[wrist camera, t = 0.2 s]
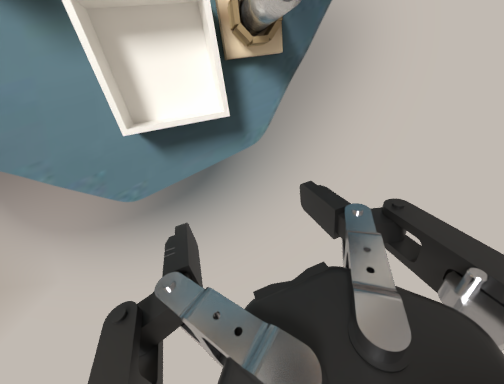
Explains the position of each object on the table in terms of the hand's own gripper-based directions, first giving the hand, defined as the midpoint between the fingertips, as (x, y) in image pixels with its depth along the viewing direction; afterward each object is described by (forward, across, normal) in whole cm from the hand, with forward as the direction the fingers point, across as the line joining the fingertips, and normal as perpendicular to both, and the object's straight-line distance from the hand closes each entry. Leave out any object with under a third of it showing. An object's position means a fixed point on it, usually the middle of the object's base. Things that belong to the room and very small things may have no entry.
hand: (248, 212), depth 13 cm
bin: (+29, +3, -11) cm, 31 cm away
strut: (+27, -12, -15) cm, 33 cm away
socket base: (+29, -12, -15) cm, 35 cm away
